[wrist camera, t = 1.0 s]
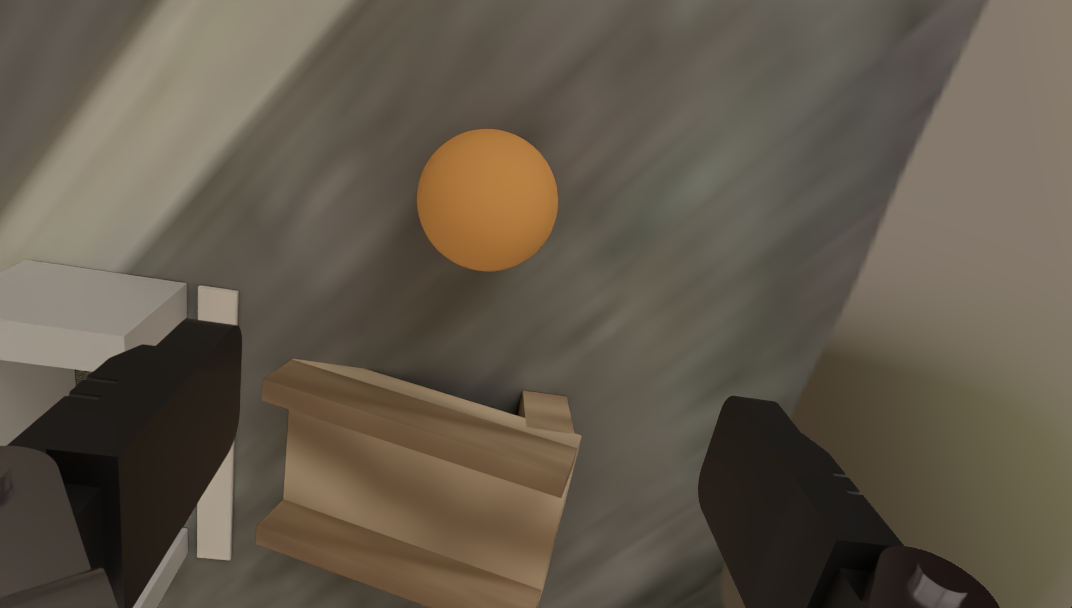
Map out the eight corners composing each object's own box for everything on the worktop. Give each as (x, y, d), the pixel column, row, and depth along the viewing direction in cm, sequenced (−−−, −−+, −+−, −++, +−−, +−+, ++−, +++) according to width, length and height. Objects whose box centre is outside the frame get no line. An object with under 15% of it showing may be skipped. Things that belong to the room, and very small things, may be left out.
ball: (432, 108, 25) (419, 127, 20) (563, 133, 25) (579, 156, 21) (416, 235, 27) (400, 279, 22) (538, 255, 27) (548, 302, 23)
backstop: (25, 259, 26) (-75, 309, 21) (186, 283, 27) (124, 336, 22) (53, 540, 31) (-23, 629, 26) (187, 553, 32) (137, 642, 27)
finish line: (199, 285, 27) (197, 286, 27) (238, 290, 27) (236, 292, 27) (198, 554, 32) (197, 557, 32) (231, 557, 32) (229, 560, 32)
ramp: (282, 347, 29) (226, 435, 23) (571, 386, 31) (591, 479, 25) (274, 501, 32) (222, 617, 26) (536, 529, 34) (547, 644, 28)
